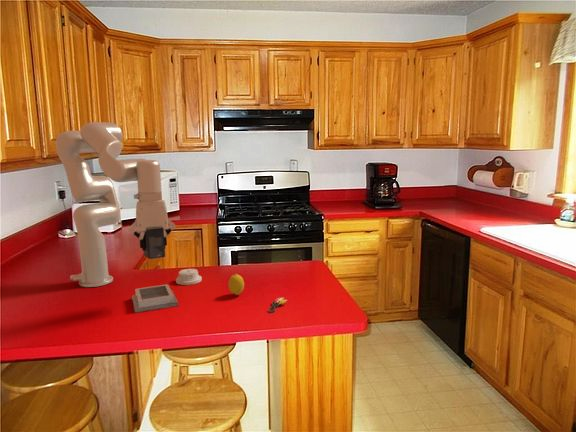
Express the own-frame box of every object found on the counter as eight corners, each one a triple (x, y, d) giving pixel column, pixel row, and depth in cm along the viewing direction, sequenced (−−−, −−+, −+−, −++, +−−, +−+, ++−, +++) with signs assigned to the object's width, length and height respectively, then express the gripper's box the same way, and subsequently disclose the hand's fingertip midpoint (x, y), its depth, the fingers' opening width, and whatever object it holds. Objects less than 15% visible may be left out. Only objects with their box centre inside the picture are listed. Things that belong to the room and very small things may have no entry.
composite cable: (273, 314, 141) (272, 307, 141) (260, 311, 144) (260, 304, 143) (287, 304, 150) (287, 297, 149) (275, 302, 152) (275, 295, 152)
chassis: (135, 312, 144) (134, 302, 144) (132, 297, 158) (131, 288, 158) (178, 305, 150) (177, 295, 149) (171, 291, 164) (170, 282, 163)
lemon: (227, 293, 160) (226, 272, 159) (242, 291, 162) (241, 270, 161) (231, 298, 155) (230, 277, 154) (246, 296, 157) (245, 275, 156)
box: (165, 257, 150) (163, 227, 148) (148, 259, 147) (146, 228, 145) (159, 252, 156) (157, 223, 154) (143, 254, 153) (141, 224, 151)
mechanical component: (206, 280, 176) (191, 276, 183) (206, 270, 176) (190, 265, 182) (186, 287, 169) (171, 282, 175) (185, 276, 168) (170, 271, 174)
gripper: (123, 200, 141) (128, 254, 144) (178, 196, 148) (181, 248, 151) (122, 197, 148) (126, 249, 151) (174, 194, 154) (177, 243, 158)
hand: (153, 248), depth 151 cm, fingers closed on box, 6 cm apart
